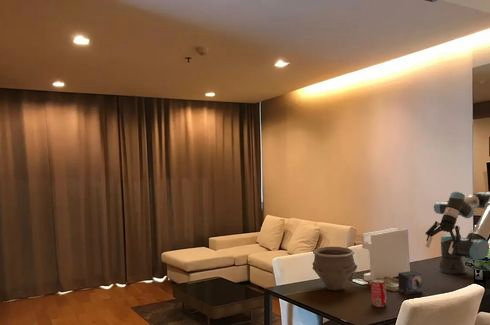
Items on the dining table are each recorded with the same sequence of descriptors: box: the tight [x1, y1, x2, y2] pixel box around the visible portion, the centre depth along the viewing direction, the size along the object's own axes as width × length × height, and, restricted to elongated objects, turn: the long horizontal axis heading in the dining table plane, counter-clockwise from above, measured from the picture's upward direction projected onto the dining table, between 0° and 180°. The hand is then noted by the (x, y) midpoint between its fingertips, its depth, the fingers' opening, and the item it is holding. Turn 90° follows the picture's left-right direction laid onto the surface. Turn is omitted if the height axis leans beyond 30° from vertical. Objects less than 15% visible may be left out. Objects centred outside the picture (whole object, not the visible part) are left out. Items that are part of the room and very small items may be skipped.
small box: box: [397, 270, 423, 296], centre depth 218 cm, size 11×6×10 cm, turn 105°
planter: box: [311, 246, 358, 291], centre depth 230 cm, size 25×24×22 cm
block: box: [361, 227, 411, 282], centre depth 252 cm, size 35×8×28 cm, turn 124°
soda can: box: [370, 279, 388, 308], centre depth 199 cm, size 7×7×12 cm
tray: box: [368, 276, 399, 293], centre depth 231 cm, size 14×18×2 cm
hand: (438, 250), depth 233 cm, fingers open, 13 cm apart
